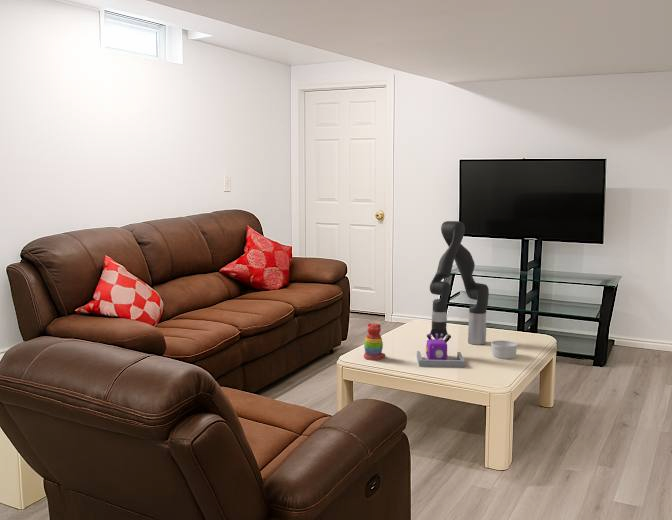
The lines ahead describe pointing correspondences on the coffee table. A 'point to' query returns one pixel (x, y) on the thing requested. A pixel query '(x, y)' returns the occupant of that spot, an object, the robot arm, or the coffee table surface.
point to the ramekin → (504, 349)
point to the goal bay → (441, 361)
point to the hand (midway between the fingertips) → (438, 352)
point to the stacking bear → (373, 343)
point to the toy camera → (436, 349)
